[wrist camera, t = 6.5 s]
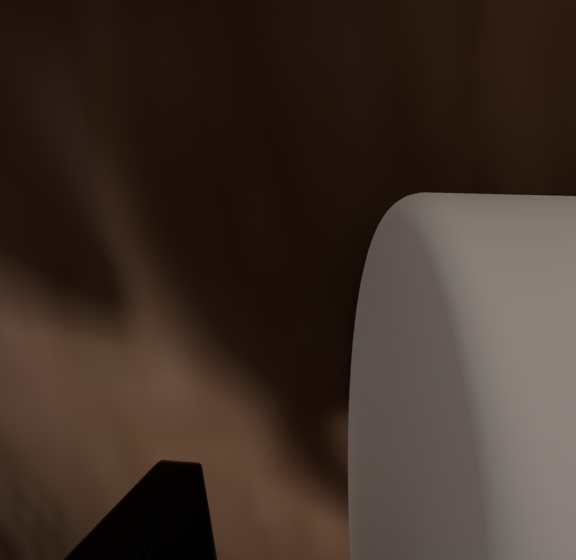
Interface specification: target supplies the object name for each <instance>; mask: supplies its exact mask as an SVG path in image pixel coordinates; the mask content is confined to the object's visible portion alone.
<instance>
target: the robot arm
mask: <svg viewBox="0 0 576 560" xmlns="http://www.w3.org/2000/svg"><path fill="white" fill-rule="evenodd" d="M63 560H217V555H216V549H215V543H214V537H213V531H212V525H211V519H210V513H209V506H208V500H207V494H206V488H205V482H204V476H203V470H202V465H201V464H200V463H196V462H183V461H170V460H161V461H159V462H157V463H156V464H155V465H154V466H153V467H152V468H151V470H150V471H149V472H148V473H147V474H146V475H145V476H144V477H143V478H142V479H141V480H140V481H139V482H138V483H137V484H136V485H135V486H134V487H133V488H132V489H131V490H130V491H129V492H128V493H127V494H126V495H125V496H124V497H123V498H122V499H121V501H120V502H119V503H118V504H117V505H116V506H115V507H114V508H113V509H112V510H111V511H110V512H109V513H108V514H107V515H106V516H105V517H104V518H103V519H102V520H101V521H100V522H99V523H98V524H97V525H96V526H95V527H94V528H93V529H92V530H91V532H90V533H89V534H88V535H87V536H86V537H85V538H84V539H83V540H82V541H81V542H80V543H79V544H78V545H77V546H76V547H75V548H74V549H73V550H72V551H71V552H70V553H69V554H68V555H67V556H66V557H65V558H64V559H63Z"/></svg>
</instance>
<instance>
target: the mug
mask: <svg viewBox="0 0 576 560" xmlns="http://www.w3.org/2000/svg"><path fill="white" fill-rule="evenodd" d="M348 505H349V538H350V560H576V196H546V195H506V194H467V193H427V192H423V193H416V194H412V195H408V196H406V197H404V198H402V199H401V200H399V201H398V202H396V203H395V204H394V205H393V206H392V207H391V208H390V209H389V210H388V211H387V212H386V214H385V215H384V217H383V218H382V220H381V221H380V223H379V225H378V227H377V229H376V231H375V234H374V236H373V239H372V241H371V244H370V247H369V250H368V254H367V258H366V262H365V266H364V270H363V274H362V279H361V285H360V290H359V296H358V303H357V310H356V318H355V326H354V336H353V346H352V359H351V373H350V392H349V421H348Z"/></svg>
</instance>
